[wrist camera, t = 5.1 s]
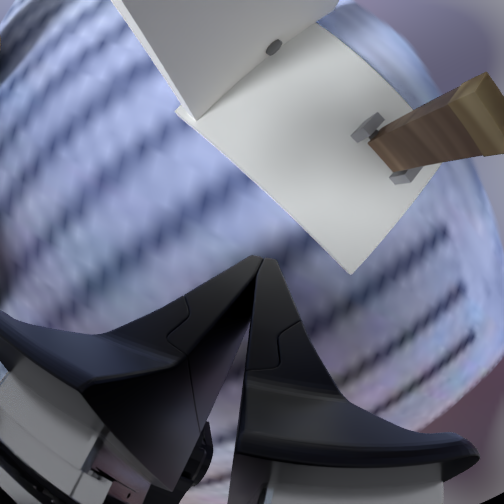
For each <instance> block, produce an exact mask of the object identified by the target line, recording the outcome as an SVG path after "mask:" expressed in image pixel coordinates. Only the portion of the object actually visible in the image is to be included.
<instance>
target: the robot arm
mask: <svg viewBox="0 0 504 504" xmlns="http://www.w3.org/2000/svg"><path fill="white" fill-rule="evenodd" d="M250 319H251V321H250ZM301 321H302V320H301V318H300V315H299V313H298V311H297V308H296V306H295V303H294V301H293V298H292V296H291V294H290V291H289V289H288V286H287V284H286V281H285V279H284V277H283V274H282V272H281V269H280V267H279V265H278V262H277V260H275V259H271V258H264V259H263V257H260V256H255V255H250V256H249V257H247V258H245V259H244V260H242V261H240V262H239V263H237V264H235V265H234V266H232V267H230V268H229V269H227V270H225V271H223V272H222V273H220V274H218V275H217V276H215V277H213V278H212V279H210V280H208V281H207V282H205V283H203V284H202V285H200V286H198V287H197V288H195V289H193V290H192V291H190V292H188V293H187V294H185V295H184V296H181V297H180V298H178V299H176V300H175V301H173V302H171V303H169V304H167V305H166V306H164V307H162V308H160V309H158V310H156V311H154V312H152V313H150V314H148V315H146V316H143V317H141V318H139V319H137V320H134V321H132V322H130V323H128V324H126V325H123V326H121V327H119V328H117V329H114V330H112V331H110V332H107V333H103V334H96V335H90V334H82V333H75V332H69V331H63V330H57V329H52V328H46V327H41V326H36V325H32V324H28V323H24V322H21V321H18V320H16V319H14V318H12V317H11V316H9V315H8V314H6V313H5V312H3V311H1V310H0V361H1V363H2V364H3V365H4V367H5V368H6V369H7V371H8V372H7V374H6V375H5V376H4V378H3V379H2V380H1V382H0V504H179V502H180V501H181V499H182V498H183V496H184V495H185V493H186V492H187V491H188V490H189V488H190V487H192V486H195V485H197V484H198V483H199V482H200V481H201V480H202V478H203V477H204V475H205V474H206V472H207V470H208V468H209V465H210V463H211V460H212V456H213V444H212V438H211V431H210V425H209V422H207V421H206V420H207V418H208V416H209V414H210V411H211V409H212V407H213V405H214V403H215V400H216V398H217V396H218V394H219V392H220V389H221V387H222V385H223V383H224V380H225V378H226V376H227V374H228V371H229V369H230V367H231V364H232V362H233V360H234V358H235V355H236V353H237V351H238V348H239V346H240V344H241V341H242V339H243V337H244V335H245V332H246V330H247V328H248V325H249V322H250V329H249V338H248V346H247V354H246V363H245V371H244V379H243V387H242V395H241V403H240V411H239V419H238V427H237V435H236V443H235V451H234V458H233V465H232V473H231V481H230V488H229V496H228V503H227V504H443V482H445V481H447V480H449V479H451V478H453V477H455V476H457V475H458V474H460V473H462V472H464V471H465V470H467V469H469V468H470V467H472V466H473V465H474V464H476V463H477V462H478V461H479V459H480V454H479V452H478V450H477V448H476V447H475V446H474V445H473V444H472V443H471V442H470V441H468V440H467V439H465V438H463V437H462V436H460V435H458V434H456V433H452V432H445V433H434V434H425V433H418V432H414V431H410V430H407V429H404V428H402V427H399V426H397V425H395V424H393V423H391V422H389V421H386V420H384V419H382V418H380V417H378V416H376V415H374V414H372V413H370V412H368V411H366V410H364V409H362V408H360V407H358V406H356V405H354V404H352V403H351V402H350V401H348V400H347V399H346V398H345V397H344V396H343V394H342V393H341V392H340V391H339V389H338V387H337V386H336V384H335V382H334V381H333V379H332V377H331V376H330V374H329V372H328V371H327V369H326V367H325V366H324V364H323V362H322V361H321V359H320V357H319V356H318V354H317V352H316V350H315V348H314V347H313V345H312V343H311V341H310V339H309V337H308V334H307V332H306V330H305V327H304V325H303V323H302V322H301ZM481 504H504V493H502V494H500V495H498V496H496V497H494V498H492V499H489V500H487V501H485V502H483V503H481Z"/></svg>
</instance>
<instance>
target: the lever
mask: <svg viewBox="0 0 504 504" xmlns="http://www.w3.org/2000/svg"><path fill="white" fill-rule="evenodd" d="M368 138H369V139H370V141H369V142H368V143H367V144H368V145H369V146H370V147H371V148H372V149H373V150H374V151H375V152H376V153H377V155H378V156H379V157H380V158H381V159H382V160H383V161H384V162H385V164H386V165H387V166H388V167H389V168H390V169H391V171H392V172H397V171H402V170H407V169H411V168H416V167H421V166H426V165H432V164H437V163H442V162H447V161H453V160H459V159H464V158H470V157H476V156H482V155H483V156H484V157H485V156H491V155H498V154H504V96H503V95H502V93H501V92H500V90H499V89H498V87H497V86H496V84H495V83H494V81H493V80H492V79H491V77H490V76H489V74H488V73H487V72H485V73H483V74H481V75H479V76H476V77H474V78H472V79H470V80H468V81H467V82H464V83H462V84H461V86H459V87H457V88H455V89H453V90H451V91H449V92H447V93H445V94H443V95H441V96H439V97H437V98H436V99H434V100H432V101H430V102H428V103H426V104H424V105H422V106H420V107H418V108H417V109H415V110H413V111H411V112H409V113H407V114H405V115H404V116H402V117H400V118H398V119H396V120H395V121H393V122H391V123H389V124H387V125H386V126H384V127H382V128H381V129H380V130H379V131H378V130H375V131H374V132H373V133H372V134H371V136H369V137H368Z"/></svg>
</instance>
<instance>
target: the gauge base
mask: <svg viewBox="0 0 504 504" xmlns="http://www.w3.org/2000/svg"><path fill="white" fill-rule="evenodd" d="M111 1H112V3H113V4H114V6H115V7H116V8H117V10H118V11H119V13H120V14H121V16H122V17H123V18H124V20H125V21H126V23H127V24H128V26H129V27H130V29H131V30H132V31H133V33H134V34H135V36H136V37H137V39H138V40H139V42H140V43H141V45H142V46H143V48H144V49H145V51H146V52H147V54H148V55H149V56H150V58H151V59H152V61H153V62H154V64H155V65H156V67H157V68H158V70H159V71H160V73H161V74H162V76H163V77H164V79H165V80H166V82H167V83H168V85H169V86H170V88H171V89H172V91H173V92H174V94H175V95H176V97H177V99H178V100H179V102H180V103H181V105H180V106H179V107H178V108H177V109H176V110H175V111H174V112H175V113H176V114H177V115H178V116H179V117H180V118H181V119H182V120H183V121H185V122H186V123H187V124H188V125H189V126H191V127H192V128H193V129H194V130H195V131H197V132H198V133H199V134H200V135H201V136H202V137H204V138H205V139H206V140H207V141H208V142H209V143H211V144H212V145H213V146H214V147H215V148H216V149H218V150H219V151H220V152H221V153H222V154H223V155H224V156H226V157H227V158H228V159H229V160H230V161H231V162H232V163H233V164H235V165H236V166H237V167H238V168H239V169H240V170H241V171H242V172H243V173H245V174H246V175H247V176H248V177H249V178H250V179H251V180H252V181H253V182H254V183H256V184H257V185H258V186H259V187H260V188H261V189H262V190H263V191H264V192H265V193H266V194H267V195H269V196H270V197H271V198H272V199H273V200H274V201H275V202H276V203H277V204H278V205H279V206H280V207H281V208H282V209H283V210H284V211H285V212H287V213H288V214H289V215H290V216H291V217H292V218H293V219H294V220H295V221H296V222H297V223H298V224H299V225H300V226H301V227H302V228H303V229H304V230H305V231H306V232H307V233H308V234H309V235H310V236H311V237H312V238H313V239H314V240H315V241H316V242H317V243H318V244H319V245H320V246H321V247H322V248H323V249H324V250H325V251H326V252H327V253H328V254H329V255H330V256H331V257H332V258H333V259H334V260H335V261H336V262H337V263H338V264H339V265H340V266H341V267H342V268H343V269H344V270H345V271H346V272H347V273H348V274H350V275H352V274H353V273H354V272H355V271H356V269H357V268H358V267H359V266H360V265H361V264H362V263H363V262H364V261H365V259H366V258H367V257H368V256H369V255H370V254H371V253H372V251H373V250H374V249H375V248H376V247H377V246H378V245H379V243H380V242H381V241H382V240H383V239H384V237H385V236H386V235H387V234H388V233H389V232H390V230H391V229H392V228H393V227H394V225H395V224H396V223H397V222H398V221H399V219H400V218H401V217H402V216H403V214H404V213H405V212H406V211H407V209H408V208H409V207H410V206H411V204H412V203H413V202H414V200H415V199H416V198H417V196H418V195H419V194H420V193H421V191H422V190H423V189H424V187H425V186H426V185H427V183H428V182H429V181H430V179H431V178H432V176H433V175H434V174H435V172H436V171H437V169H438V168H439V167H440V165H441V164H442V163H437V164H432V165H426V166H421V167H416V168H411V169H407V170H402V171H397V172H392V171H391V169H390V168H389V167H388V166H387V165H386V164H385V162H384V161H383V160H382V159H381V158H380V157H379V156H378V155H377V153H376V152H375V151H374V150H373V149H372V148H371V147H370V146H369V145H368V144H367V143H368V142H369V141H370V139H369V138H368V137H369V136H371V134H372V133H373V132H374V131H375V130H378V131H379V130H380V129H381V128H382V127H384V126H386V125H387V124H389V123H391V122H393V121H395V120H396V119H398V118H400V117H402V116H404V115H405V114H407V113H409V112H411V111H413V109H412V108H411V107H410V106H409V105H408V104H407V102H406V101H405V100H404V99H403V98H402V97H401V96H400V95H399V94H398V93H397V92H396V91H395V90H394V89H393V88H392V87H391V86H390V84H389V83H388V82H387V81H386V80H384V79H383V78H382V77H381V76H380V75H379V74H378V73H377V72H376V71H375V70H374V69H373V68H372V67H371V66H370V65H369V64H368V63H366V62H365V61H364V60H363V59H362V58H361V57H360V56H358V55H357V54H356V53H355V52H354V51H353V50H351V49H350V48H349V47H348V46H347V45H345V44H344V43H343V42H342V41H340V40H339V39H338V38H336V37H335V36H334V35H333V34H331V33H330V32H329V31H327V30H326V29H325V28H323V27H322V26H320V25H319V24H318V23H316V22H317V21H318V20H320V19H321V18H323V17H324V16H326V15H328V14H329V13H331V12H332V11H334V10H335V8H336V6H337V4H338V2H339V0H111Z"/></svg>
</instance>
